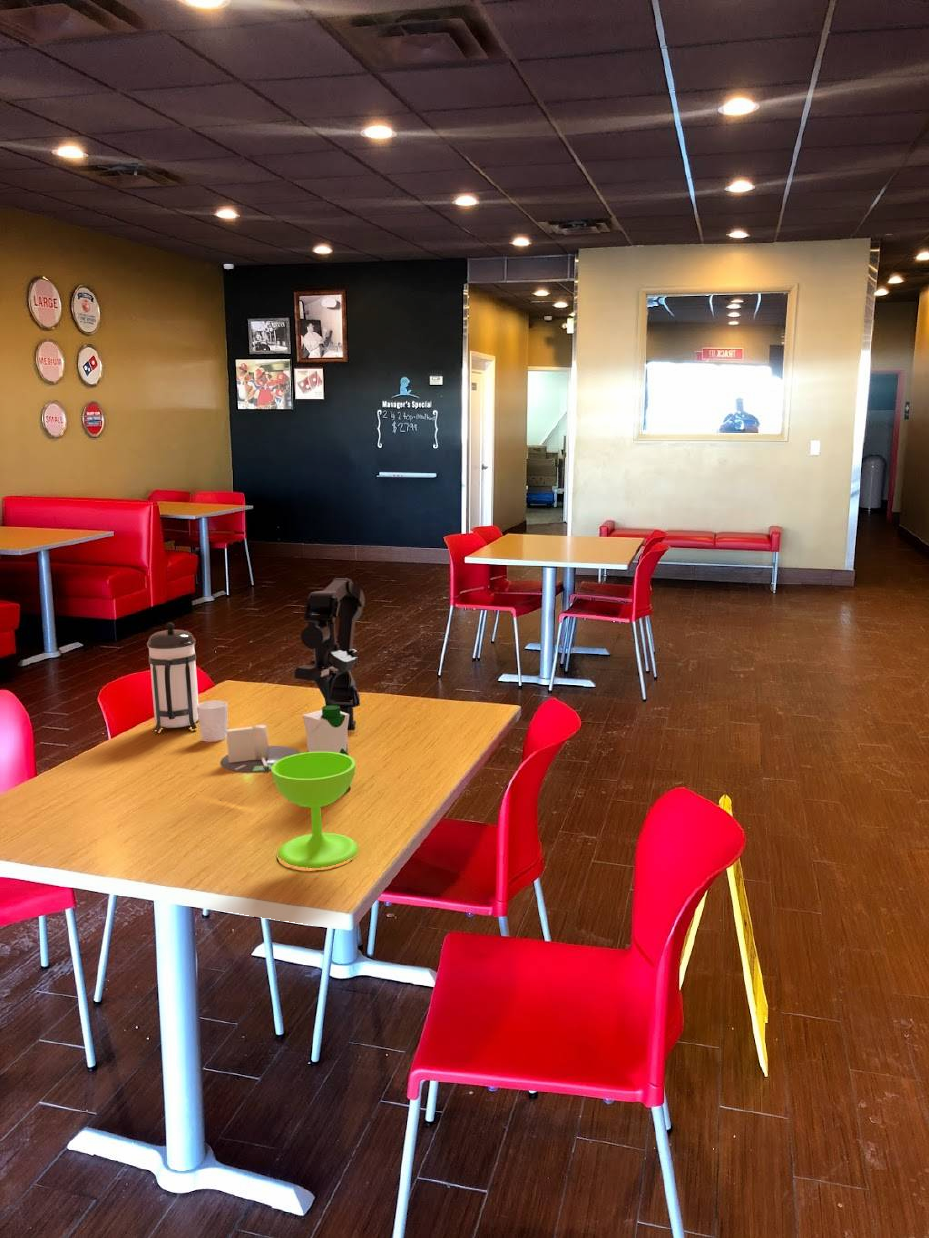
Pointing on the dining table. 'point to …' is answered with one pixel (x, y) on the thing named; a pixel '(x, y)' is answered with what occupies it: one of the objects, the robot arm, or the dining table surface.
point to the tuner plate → (259, 761)
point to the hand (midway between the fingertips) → (327, 698)
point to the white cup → (213, 720)
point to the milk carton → (327, 730)
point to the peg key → (248, 744)
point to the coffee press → (173, 678)
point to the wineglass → (315, 805)
